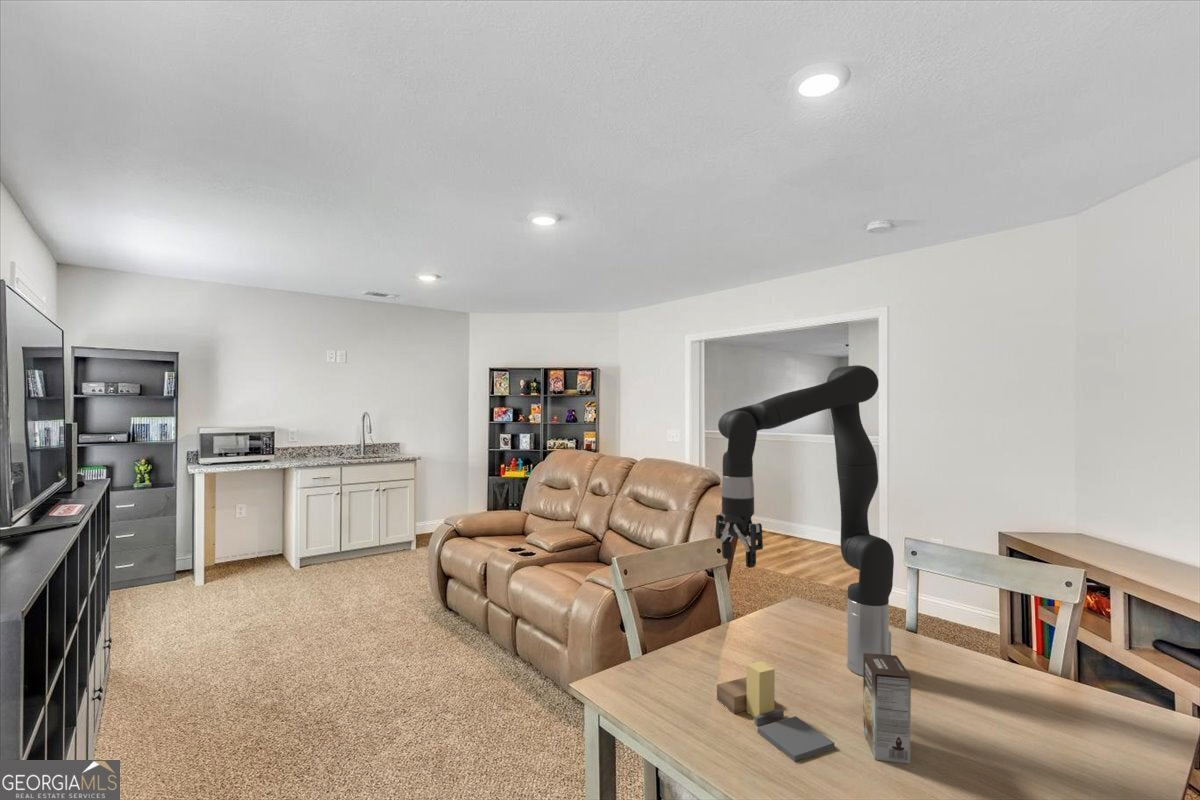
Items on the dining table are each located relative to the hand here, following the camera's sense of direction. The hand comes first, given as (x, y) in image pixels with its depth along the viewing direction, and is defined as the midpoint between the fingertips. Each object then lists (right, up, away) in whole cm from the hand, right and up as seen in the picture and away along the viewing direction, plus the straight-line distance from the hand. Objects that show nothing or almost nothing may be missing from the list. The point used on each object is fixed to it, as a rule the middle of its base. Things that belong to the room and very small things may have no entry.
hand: (738, 562), depth 134 cm
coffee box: (+21, -28, -27) cm, 44 cm away
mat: (+5, -27, -25) cm, 37 cm away
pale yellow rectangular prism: (+1, -28, -16) cm, 32 cm away
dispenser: (0, -28, -13) cm, 31 cm away
